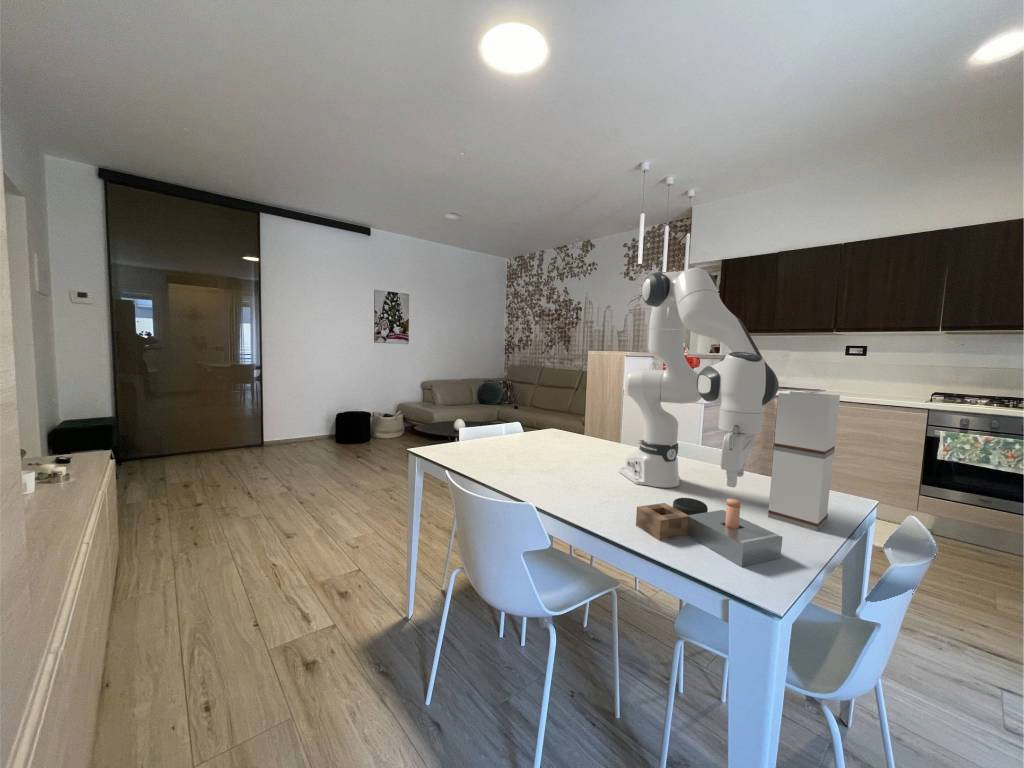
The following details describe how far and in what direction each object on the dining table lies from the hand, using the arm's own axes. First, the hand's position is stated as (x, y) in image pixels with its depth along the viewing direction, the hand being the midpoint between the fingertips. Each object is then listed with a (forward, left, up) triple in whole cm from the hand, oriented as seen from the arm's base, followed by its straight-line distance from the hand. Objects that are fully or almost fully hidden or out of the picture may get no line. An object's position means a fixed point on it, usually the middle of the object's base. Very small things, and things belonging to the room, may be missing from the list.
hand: (735, 480), depth 97 cm
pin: (0, 0, -16) cm, 16 cm away
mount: (-12, -10, -16) cm, 22 cm away
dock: (0, 0, -16) cm, 16 cm away
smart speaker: (-17, +4, -16) cm, 24 cm away
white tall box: (-6, +32, -16) cm, 36 cm away
